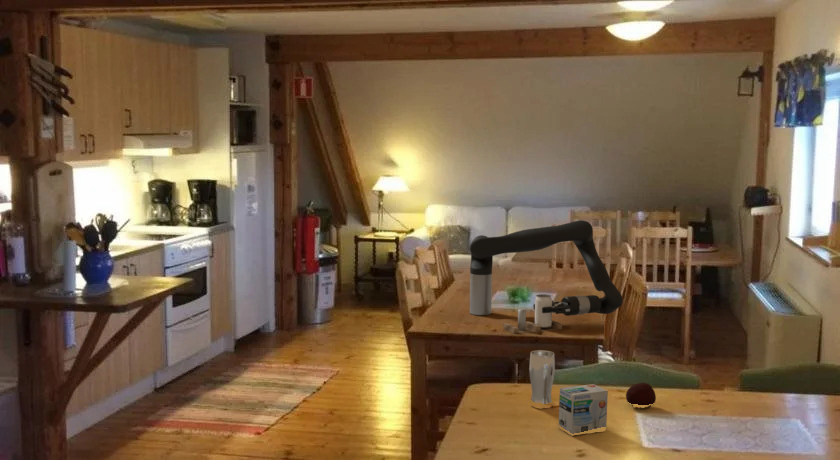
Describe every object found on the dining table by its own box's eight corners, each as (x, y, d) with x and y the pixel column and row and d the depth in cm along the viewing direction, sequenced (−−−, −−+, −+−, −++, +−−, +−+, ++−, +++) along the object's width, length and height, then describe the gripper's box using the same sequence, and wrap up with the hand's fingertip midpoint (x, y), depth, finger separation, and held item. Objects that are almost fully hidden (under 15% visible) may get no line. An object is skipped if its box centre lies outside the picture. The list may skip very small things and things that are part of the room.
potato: (619, 405, 235) (620, 381, 234) (644, 402, 238) (645, 378, 237) (636, 413, 228) (637, 388, 227) (661, 409, 231) (662, 385, 231)
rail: (502, 331, 326) (503, 323, 326) (550, 327, 334) (550, 319, 333) (513, 336, 318) (513, 328, 317) (562, 331, 325) (562, 324, 325)
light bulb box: (572, 437, 209) (573, 395, 208) (557, 428, 216) (558, 387, 214) (607, 431, 214) (609, 390, 212) (592, 423, 220) (593, 383, 219)
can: (551, 328, 324) (551, 297, 322) (534, 327, 325) (534, 296, 324) (552, 324, 330) (552, 294, 328) (535, 323, 331) (535, 293, 330)
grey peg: (516, 329, 325) (516, 309, 324) (523, 328, 326) (523, 308, 325) (520, 331, 322) (520, 310, 321) (527, 330, 323) (527, 309, 322)
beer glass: (538, 411, 229) (539, 357, 228) (523, 404, 235) (524, 351, 234) (558, 407, 233) (560, 354, 231) (544, 400, 239) (545, 348, 237)
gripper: (566, 292, 338) (529, 295, 332) (585, 299, 325) (547, 302, 318) (565, 311, 339) (528, 314, 333) (585, 318, 325) (547, 321, 319)
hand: (538, 308), depth 326 cm, fingers closed on can, 6 cm apart
